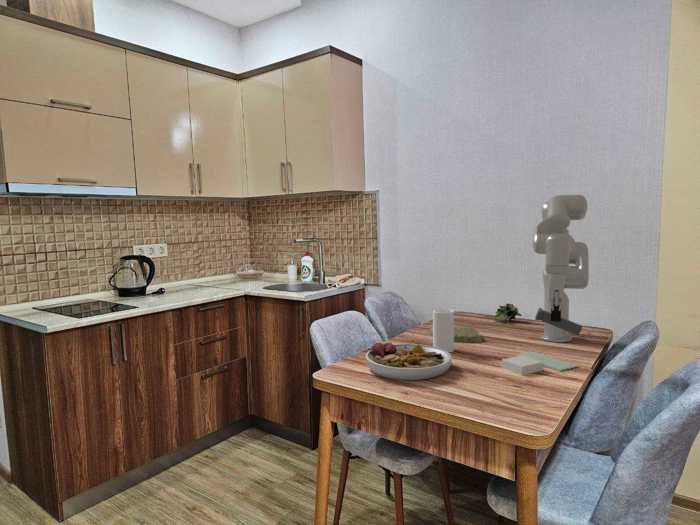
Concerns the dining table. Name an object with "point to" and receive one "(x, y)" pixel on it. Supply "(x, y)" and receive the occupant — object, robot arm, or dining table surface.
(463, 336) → the decorative tile
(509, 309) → the green leafy plant
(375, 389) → the dining table surface
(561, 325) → the grey t-shaped block
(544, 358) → the mat
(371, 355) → the bowl
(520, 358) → the tile
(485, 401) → the dining table surface
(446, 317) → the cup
